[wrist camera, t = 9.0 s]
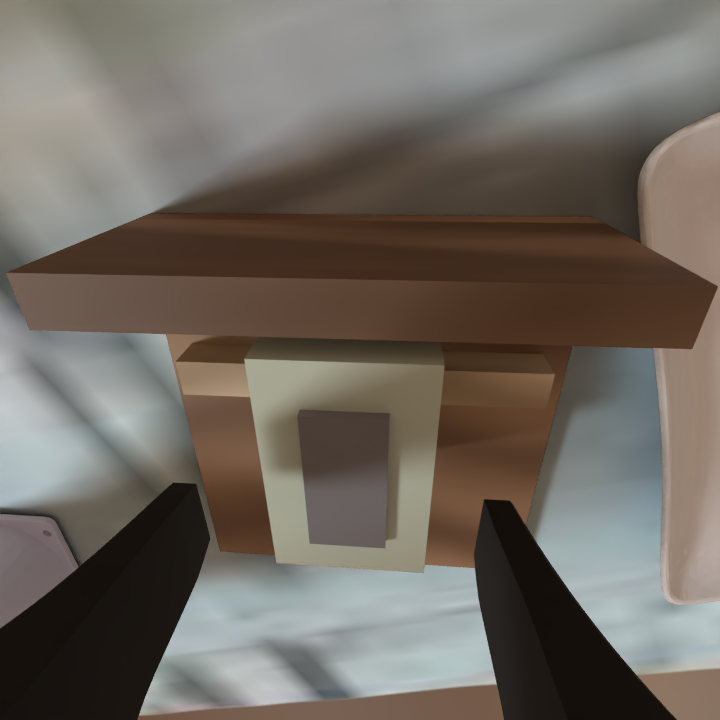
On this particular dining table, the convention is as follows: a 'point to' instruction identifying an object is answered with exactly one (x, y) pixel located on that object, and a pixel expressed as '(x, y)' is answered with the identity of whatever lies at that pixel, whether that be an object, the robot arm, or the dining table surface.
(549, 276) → the wall board
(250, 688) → the dining table surface
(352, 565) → the cabinet block
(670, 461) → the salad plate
